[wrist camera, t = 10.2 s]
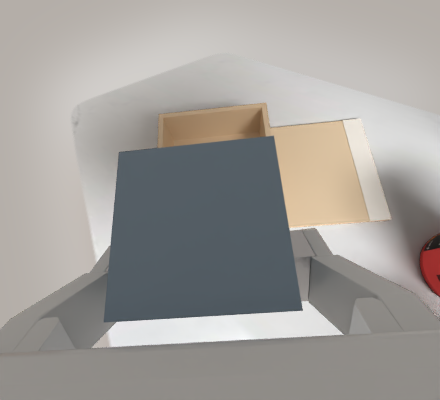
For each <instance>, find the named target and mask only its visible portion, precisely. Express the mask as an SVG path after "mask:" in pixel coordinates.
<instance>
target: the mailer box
mask: <svg viewBox="0 0 440 400" xmlns="http://www.w3.org/2000/svg"><path fill="white" fill-rule="evenodd" d="M265 136H274V139H275V145H276V151H277V157H278V163H279V169H280V176H281V182H282V188H283V194H284V200H285V206H286V212H287V218H288V224H289V228H293V227H306V226H320V225H333V224H346V223H360V222H373V221H386V220H391V219H392V218H391V215H390V211H389V208H388V205H387V202H386V199H385V195H384V192H383V189H382V186H381V182H380V179H379V176H378V173H377V170H376V166H375V163H374V160H373V157H372V153H371V150H370V147H369V144H368V140H367V137H366V134H365V131H364V128H363V124H362V121H361V118H360V119H350V120H342V121H334V122H325V123H315V124H305V125H295V126H285V127H275V128H270V124H269V117H268V111H267V104H266V103H259V104H250V105H240V106H231V107H222V108H212V109H203V110H194V111H184V112H175V113H166V114H159V120H158V148H162V147H172V146H181V145H190V144H200V143H209V142H219V141H228V140H237V139H247V138H256V137H265Z"/></svg>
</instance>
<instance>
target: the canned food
mask: <svg viewBox="0 0 440 400" xmlns="http://www.w3.org/2000/svg"><path fill="white" fill-rule="evenodd" d="M420 268H421V272H422V275H423V277H424V279H425V281H426V282H427V284H428V285H429V287H430V288H431V289H432V290H433V291H434V292H435V293H436V294H437V295H438V296H439V297H440V234H438V235H436V236H434V237H433V238H432V239H430V240H429V241H428V242H427V243H426V244H425V246H424V247H423V249H422V251H421V254H420Z"/></svg>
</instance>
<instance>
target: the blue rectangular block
mask: <svg viewBox="0 0 440 400" xmlns="http://www.w3.org/2000/svg"><path fill="white" fill-rule="evenodd" d="M286 311H303V309H302V303H301V297H300V291H299V285H298V279H297V273H296V267H295V261H294V255H293V249H292V242H291V236H290V230H289V224H288V218H287V212H286V206H285V200H284V194H283V188H282V182H281V176H280V169H279V163H278V157H277V151H276V145H275V139H274V136H265V137H256V138H247V139H237V140H228V141H219V142H209V143H200V144H190V145H181V146H172V147H162V148H153V149H144V150H134V151H125V152H119V159H118V170H117V181H116V192H115V203H114V214H113V225H112V235H111V246H110V257H109V268H108V279H107V290H106V301H105V312H104V322H120V321H137V320H153V319H170V318H186V317H203V316H220V315H236V314H253V313H270V312H286Z"/></svg>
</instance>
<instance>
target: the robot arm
mask: <svg viewBox="0 0 440 400" xmlns="http://www.w3.org/2000/svg"><path fill="white" fill-rule="evenodd" d="M290 236H291V242H292V249H293V255H294V261H295V267H296V273H297V279H298V285H299V291H300V297H301V301H309V303H310V304H311V305H313V306H314V307H315V308H316V309H317V310H318V311H319V312H320V313H321V314H322V315H323V316H324V317H325V318H327V319H328V320H329V321H330V322H331V323H332V324H333V325H334V326H335V327H336V328H337V329H338V330H339V331H341V332H342V333H343V334H344V335H332V336H312V337H293V338H274V339H254V340H235V341H216V342H198V343H179V344H161V345H142V346H124V347H106V348H92V346H93V345H94V344H95V343H96V342H97V341H98V340H99V339H100V338H101V337H102V336H103V335H104V334H105V333H106V332H107V331H108V330H109V329H110V328H111V327H112V326H113V325H114V324H115V323H116V322H104V312H105V301H106V290H107V279H108V268H109V257H110V246H109V247H108V249H107V250H106V251H105V253H104V254H103V255H102V257H101V258H100V259H99V261H98V262H97V263H96V265H95V266H94V268H93V269H92V271H91V272H90V273H86V274H84V275H82V276H80V277H79V278H77V279H75V280H74V281H72V282H70V283H69V284H67V285H65V286H64V287H62V288H60V289H59V290H57V291H55V292H54V293H52V294H51V295H49V296H47V297H46V298H44V299H42V300H41V301H39V302H37V303H36V304H34V305H32V306H31V307H29V308H27V309H26V310H24V311H22V312H21V313H19V314H18V315H16V316H14V317H13V318H11V319H10V320H9V321H8V322H7V323H6V324H5V325H4V326H3V327H2V329H1V330H0V400H440V320H439V319H438V318H437V317H436V316H435V315H434V314H433V313H432V312H431V311H430V309H429V308H428V307H427V306H426V305H425V304H424V303H423V302H422V301H421V300H420V298H419V297H418V296H417V295H416V294H415V293H413V292H411V291H409V290H407V289H405V288H403V287H401V286H399V285H397V284H395V283H393V282H391V281H389V280H387V279H385V278H383V277H381V276H379V275H377V274H375V273H373V272H371V271H369V270H367V269H365V268H363V267H361V266H359V265H357V264H355V263H353V262H351V261H349V260H347V259H345V258H343V257H341V256H339V255H333V254H332V252H331V251H330V249H329V248H328V246H327V245H326V243H325V242H324V240H323V238H322V237H321V235H320V234H319V232H318V231H317V229H315V228H311V229H302V230H294V231H290Z"/></svg>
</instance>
